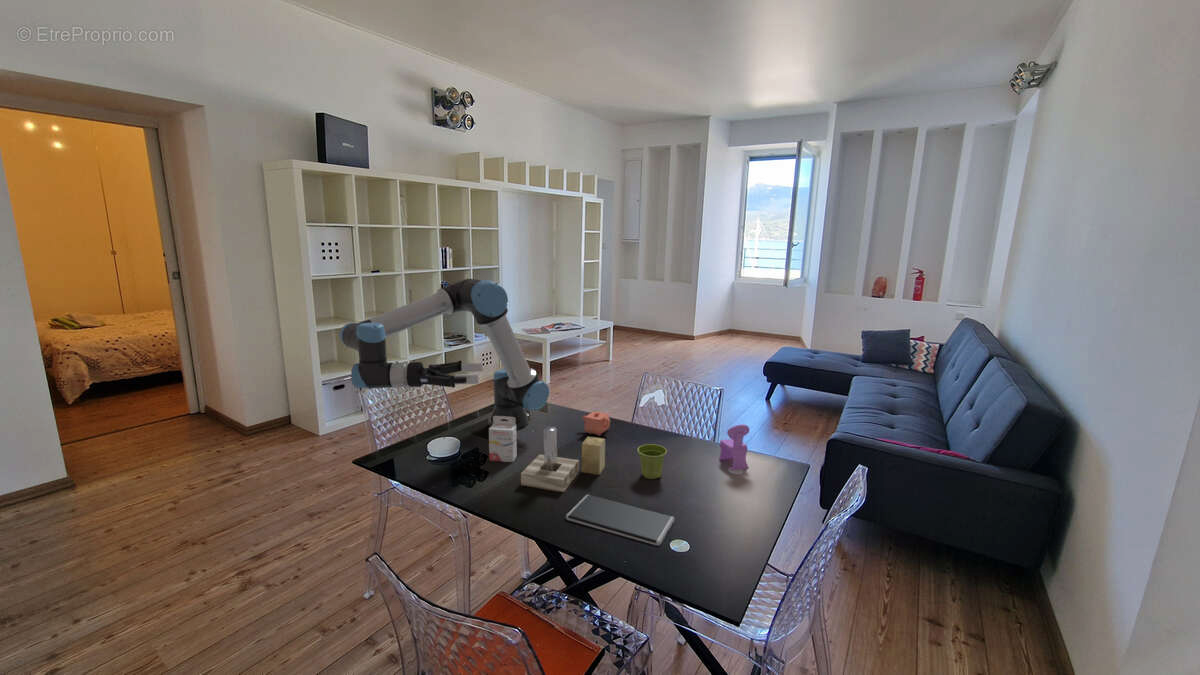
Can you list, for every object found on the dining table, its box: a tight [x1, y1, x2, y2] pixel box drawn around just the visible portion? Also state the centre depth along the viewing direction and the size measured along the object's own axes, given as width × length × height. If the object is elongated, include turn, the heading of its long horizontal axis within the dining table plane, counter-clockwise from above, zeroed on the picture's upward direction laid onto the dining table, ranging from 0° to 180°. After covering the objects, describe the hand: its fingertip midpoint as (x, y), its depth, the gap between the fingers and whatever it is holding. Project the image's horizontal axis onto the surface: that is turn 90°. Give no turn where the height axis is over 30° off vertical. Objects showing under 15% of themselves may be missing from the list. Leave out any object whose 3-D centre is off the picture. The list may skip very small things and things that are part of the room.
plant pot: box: [637, 443, 668, 480], centre depth 158 cm, size 9×9×9 cm
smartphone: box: [565, 494, 676, 547], centre depth 133 cm, size 13×27×2 cm, turn 65°
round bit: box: [543, 426, 558, 472], centre depth 154 cm, size 4×4×16 cm
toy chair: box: [718, 424, 750, 471], centre depth 166 cm, size 8×9×15 cm
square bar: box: [581, 436, 606, 476], centre depth 161 cm, size 6×6×10 cm
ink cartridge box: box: [488, 416, 518, 463], centre depth 168 cm, size 9×5×15 cm, turn 84°
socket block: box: [520, 454, 580, 493], centre depth 155 cm, size 14×14×4 cm
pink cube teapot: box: [581, 410, 611, 437], centre depth 193 cm, size 8×12×8 cm, turn 63°
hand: (480, 372), depth 151 cm, fingers open, 13 cm apart
